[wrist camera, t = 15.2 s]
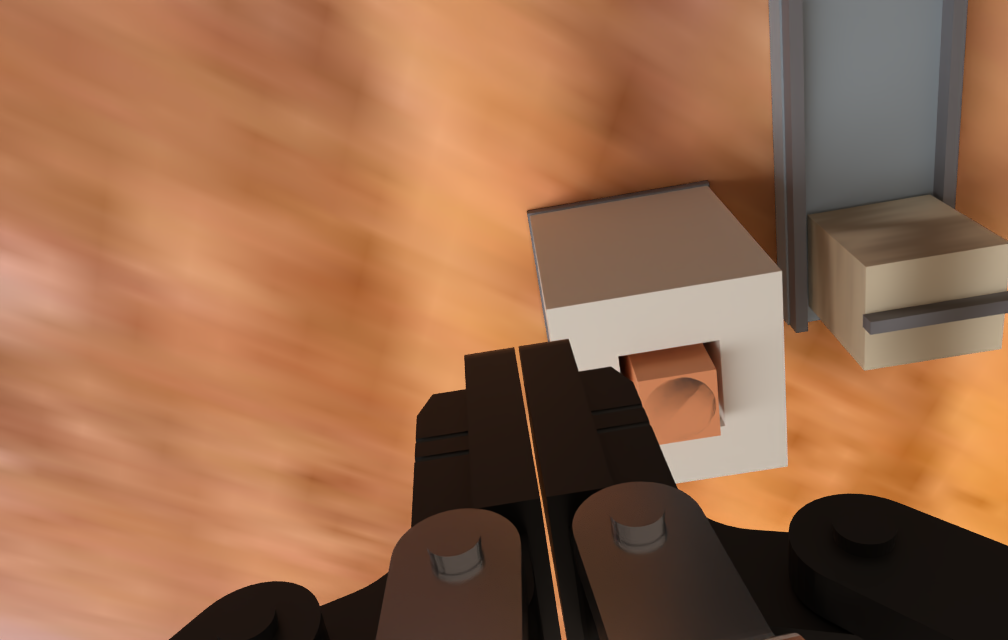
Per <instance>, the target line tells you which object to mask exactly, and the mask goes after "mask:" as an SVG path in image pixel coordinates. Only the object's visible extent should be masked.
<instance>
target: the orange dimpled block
mask: <svg viewBox="0 0 1008 640" xmlns="http://www.w3.org/2000/svg"><path fill="white" fill-rule="evenodd" d="M618 359H619V366H620V369H621V372H622V375H624V376H625V377H627V378H628V379H629V380H631V381H632V382H633V383H634V385H635V388H636V390H637V393H638V395H639V397H640V400H641V402H642V406H643V408H644V409H645V412H646V414H647V416H648V419H649V422H650V425H651V426H652V428H653V431H654V433H655V436H656V438H657V440H658V443H659V445H662V444H668V443H675V442H681V441H687V440H694V439H700V438H707V437H713V436H720V435H721V430H720V415H719V401H718V386H717V372H716V368H715V366H714V364H713V362H712V360H711V358H710V357H709V355H708V353H707V351H706V349H705V347H704V345H703V343H698V344H692V345H686V346H679V347H673V348H667V349H661V350H655V351H648V352H642V353H636V354H630V355H624V356H618Z"/></svg>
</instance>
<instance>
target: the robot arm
mask: <svg viewBox="0 0 1008 640" xmlns="http://www.w3.org/2000/svg"><path fill="white" fill-rule="evenodd" d="M519 353H520V360H521V367H522V374H523V380H524V387H525V393H526V400H527V407H528V413H529V420H530V427H531V433H532V440H533V446H534V453H535V459H536V465H537V471H538V477H539V483H540V489H541V495H542V500H543V506H544V512H545V518H546V523H547V529H548V535H549V541H550V546H551V552H552V558H553V563H554V569H555V575H556V581H557V586H558V592H559V598H560V604H561V609H562V615H563V621H564V627H565V632H566V638H567V640H1008V546H1007V545H1004V544H1002V543H999V542H997V541H994V540H992V539H989V538H987V537H984V536H982V535H979V534H976V533H974V532H971V531H969V530H966V529H964V528H961V527H959V526H956V525H954V524H951V523H949V522H946V521H943V520H941V519H938V518H936V517H933V516H931V515H928V514H926V513H923V512H921V511H918V510H916V509H913V508H910V507H908V506H905V505H903V504H900V503H898V502H895V501H892V500H889V499H886V498H881V497H877V496H872V495H864V494H838V495H832V496H826V497H823V498H820V499H817V500H814V501H812V502H810V503H808V504H806V505H805V506H804V507H802V508H801V509H800V510H799V511H798V512H797V513H796V514H795V515H794V517H793V519H792V521H791V523H790V527H789V532H777V531H763V530H750V529H742V528H736V527H732V526H727V525H724V524H721V523H718V522H715V521H713V520H711V519H709V518H706V516H705V514H704V513H703V511H702V509H701V508H700V506H699V505H698V504H697V502H696V501H695V500H694V499H693V498H691V497H690V496H689V495H687V494H686V493H684V492H683V491H681V490H679V489H678V488H677V486H676V484H675V481H674V479H673V476H672V474H671V472H670V469H669V467H668V464H667V462H666V460H665V457H664V455H663V452H662V450H661V448H660V445H659V443H658V440H657V438H656V436H655V433H654V431H653V428H652V426H651V425H650V422H649V419H648V416H647V414H646V412H645V409H644V408H643V406H642V402H641V400H640V397H639V395H638V393H637V390H636V388H635V385H634V383H633V382H632V381H631V380H629V379H628V378H627V377H625V376H624V375H622V374H621V373H619V372H618V371H617V370H615V369H614V368H612V367H611V366H610V367H604V368H597V369H591V370H585V371H578V367H577V364H576V361H575V358H574V354H573V351H572V348H571V344H570V341H569V339H563V340H557V341H550V342H544V343H537V344H531V345H525V346H519ZM464 360H465V380H466V389H465V390H458V391H452V392H446V393H439V394H433V395H432V396H431V397H430V399H429V400H428V402H427V403H426V404H425V406H424V407H423V409H422V410H421V411H420V413H419V414H418V416H417V424H416V444H415V463H414V483H413V502H412V522H411V528H410V529H409V530H408V531H407V532H406V533H405V534H404V535H403V536H402V537H401V538H400V540H399V541H398V542H397V544H396V546H395V548H394V550H393V553H392V556H391V561H390V566H389V572H388V573H387V574H385V575H384V576H382V577H381V578H380V579H378V580H377V581H375V582H374V583H372V584H370V585H369V586H367V587H365V588H363V589H361V590H359V591H356V592H354V593H352V594H349V595H347V596H344V597H342V598H339V599H337V600H335V601H332V602H330V603H327V604H325V605H322V606H319V603H318V601H317V599H316V597H315V596H314V595H313V594H312V593H311V592H310V591H309V590H308V589H306V588H304V587H303V586H300V585H297V584H294V583H290V582H281V581H272V582H264V583H258V584H254V585H250V586H247V587H244V588H241V589H239V590H236V591H234V592H232V593H230V594H228V595H226V596H224V597H223V598H221V599H219V600H218V601H216V602H215V603H213V604H212V605H211V606H209V607H208V608H207V609H205V610H204V611H203V612H202V613H200V614H199V615H198V616H197V617H196V618H194V619H193V620H192V621H191V622H190V623H188V624H187V625H186V626H185V627H184V628H182V629H181V630H180V631H179V632H178V633H176V634H175V635H174V636H173V637H172V638H170V639H169V640H561V634H560V627H559V621H558V614H557V607H556V601H555V594H554V588H553V581H552V575H551V568H550V561H549V555H548V548H547V542H546V535H545V528H544V522H543V515H542V509H541V502H540V496H539V490H538V484H537V478H536V472H535V466H534V461H533V455H532V449H531V443H530V437H529V431H528V425H527V420H526V414H525V408H524V402H523V396H522V390H521V384H520V379H519V373H518V367H517V361H516V355H515V349H514V347H513V348H507V349H500V350H494V351H487V352H481V353H475V354H468V355H464Z"/></svg>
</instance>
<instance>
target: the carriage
mask: <svg viewBox="0 0 1008 640" xmlns="http://www.w3.org/2000/svg"><path fill="white" fill-rule="evenodd" d="M807 229H808V293H809V307H810V308H811V309H812V310H813V311H814V313H815V314H816V315H817V316H818V317H819V318H820V320H821V321H822V322H823V323H824V324H825V325H826V327H827V328H828V329H829V330H830V331H831V332H832V334H833V335H834V336H835V337H836V338H837V339H838V340H839V342H840V343H841V344H842V345H843V346H844V347H845V349H846V350H847V351H848V352H849V353H850V354H851V356H852V357H853V358H854V359H855V360H856V361H857V363H858V364H859V365H860V366H861V367H862V368H863V369H864V370H871V369H877V368H883V367H890V366H896V365H902V364H909V363H915V362H921V361H928V360H934V359H940V358H947V357H953V356H959V355H966V354H972V353H978V352H985V351H991V350H997V349H1001V348H1002V337H1003V326H1004V316H1005V313H1008V291H1007V283H1008V241H1007V240H1005V239H1003V238H1002V237H1000V236H998V235H997V234H995V233H993V232H992V231H990V230H988V229H987V228H985V227H983V226H982V225H980V224H978V223H977V222H975V221H973V220H972V219H970V218H968V217H967V216H965V215H963V214H962V213H960V212H958V211H957V210H955V209H954V208H952V207H950V206H949V205H947V204H945V203H944V202H942V201H940V200H939V199H937V198H935V197H934V196H932V195H930V194H929V195H923V196H917V197H911V198H905V199H899V200H893V201H887V202H881V203H875V204H869V205H863V206H857V207H851V208H845V209H839V210H833V211H827V212H821V213H815V214H809V215H807Z"/></svg>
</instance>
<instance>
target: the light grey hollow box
mask: <svg viewBox="0 0 1008 640" xmlns="http://www.w3.org/2000/svg"><path fill="white" fill-rule="evenodd" d="M527 215H528V221H529V228H530V234H531V240H532V246H533V252H534V258H535V264H536V270H537V277H538V283H539V289H540V295H541V301H542V307H543V313H544V319H545V326H546V332H547V338H548V342H550V341H557V340H563V339H569V341H570V344H571V348H572V351H573V354H574V358H575V361H576V364H577V367H578V371H585V370H591V369H597V368H604V367H610V366H611V367H612V368H614V369H615V370H617V371H618V372H619V373H621V374H622V372H621V369H620V366H619V359H618V356H624V355H630V354H636V353H642V352H648V351H655V350H661V349H667V348H673V347H679V346H686V345H692V344H698V343H703V345H704V347H705V349H706V351H707V353H708V355H709V357H710V358H711V360H712V362H713V364H714V366H715V368H716V372H717V386H718V401H719V415H720V430H721V435H720V436H713V437H707V438H700V439H694V440H687V441H681V442H675V443H668V444H662V445H660V448H661V450H662V452H663V455H664V457H665V460H666V462H667V464H668V467H669V469H670V472H671V474H672V476H673V479H674V481H675V484H676V483H682V482H689V481H695V480H702V479H708V478H715V477H721V476H728V475H734V474H741V473H747V472H754V471H760V470H767V469H773V468H780V467H786V466H788V458H787V425H786V391H785V358H784V324H783V291H782V271H781V269H780V268H779V267H778V266H777V265H776V264H775V262H774V261H773V260H772V259H771V258H770V257H769V256H768V254H767V253H766V252H765V251H764V250H763V249H762V248H761V246H760V245H759V244H758V243H757V242H756V241H755V240H754V238H753V237H752V236H751V235H750V234H749V233H748V231H747V230H746V229H745V228H744V227H743V226H742V225H741V223H740V222H739V221H738V220H737V219H736V218H735V217H734V215H733V214H732V213H731V212H730V211H729V210H728V209H727V207H726V206H725V205H724V204H723V203H722V202H721V201H720V199H719V198H718V197H717V196H716V195H715V194H714V192H713V191H712V190H711V189H710V187H709V182H708V181H707V180H706V181H700V182H694V183H689V184H683V185H677V186H671V187H665V188H659V189H653V190H647V191H641V192H636V193H630V194H624V195H618V196H612V197H606V198H600V199H594V200H588V201H582V202H577V203H571V204H565V205H559V206H553V207H547V208H541V209H535V210H529V211H527Z"/></svg>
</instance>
